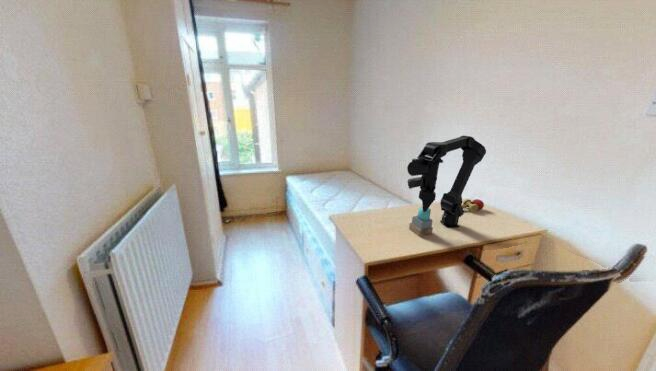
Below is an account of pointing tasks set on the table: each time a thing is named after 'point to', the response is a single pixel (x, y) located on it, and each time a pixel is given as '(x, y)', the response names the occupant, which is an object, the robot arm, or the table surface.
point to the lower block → (420, 230)
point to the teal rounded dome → (423, 214)
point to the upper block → (421, 223)
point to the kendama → (473, 205)
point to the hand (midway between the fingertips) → (424, 207)
